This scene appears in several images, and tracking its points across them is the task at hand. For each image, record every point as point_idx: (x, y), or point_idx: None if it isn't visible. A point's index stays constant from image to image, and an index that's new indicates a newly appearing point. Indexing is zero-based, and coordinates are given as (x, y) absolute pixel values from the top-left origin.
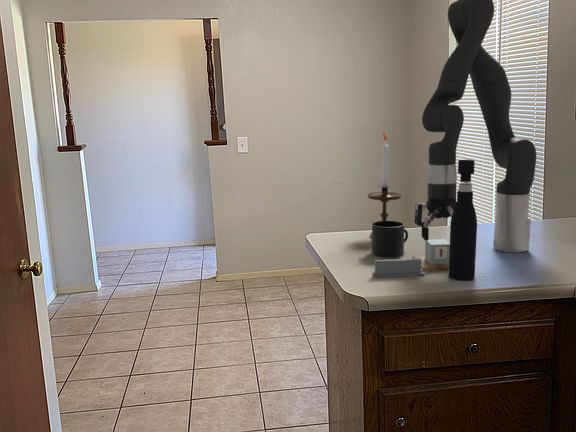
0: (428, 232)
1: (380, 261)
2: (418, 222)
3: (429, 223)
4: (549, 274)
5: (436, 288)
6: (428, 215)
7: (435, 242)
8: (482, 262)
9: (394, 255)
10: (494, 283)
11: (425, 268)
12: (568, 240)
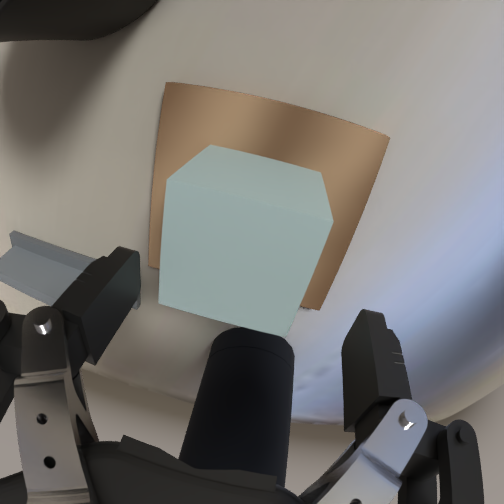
0: (112, 337)
1: (2, 280)
2: (7, 368)
3: (84, 399)
4: (469, 386)
5: (147, 376)
6: (43, 419)
7: (206, 273)
8: (452, 257)
9: (99, 36)
10: (304, 403)
11: (158, 266)
12: None
